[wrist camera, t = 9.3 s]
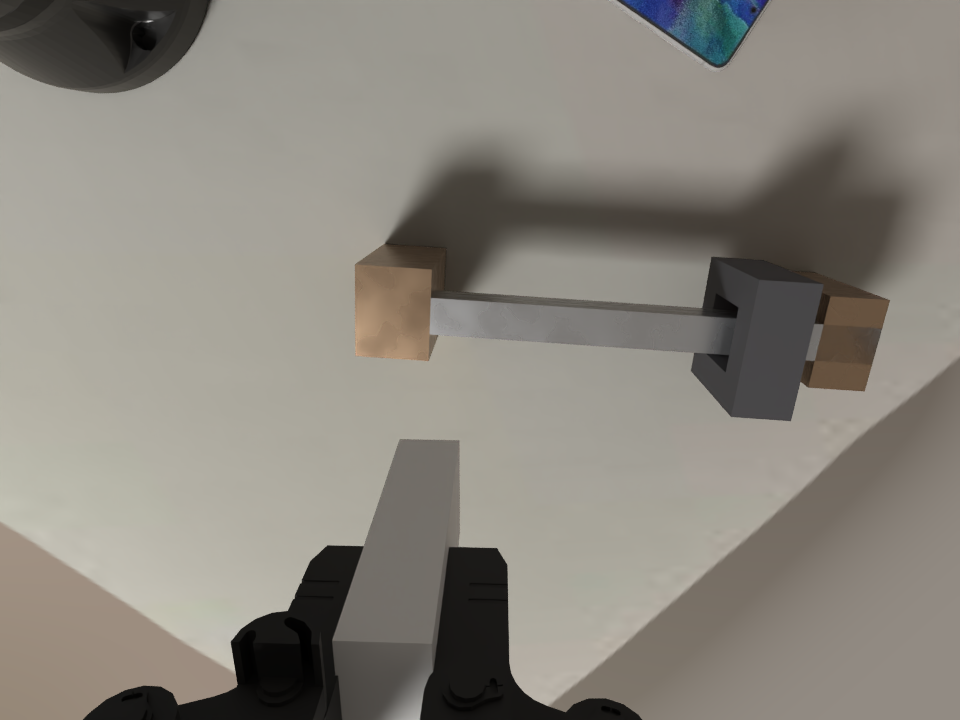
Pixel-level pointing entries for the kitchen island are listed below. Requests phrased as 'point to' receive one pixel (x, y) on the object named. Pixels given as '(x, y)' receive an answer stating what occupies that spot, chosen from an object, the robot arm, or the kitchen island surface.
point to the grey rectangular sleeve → (759, 337)
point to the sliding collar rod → (588, 319)
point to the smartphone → (699, 25)
